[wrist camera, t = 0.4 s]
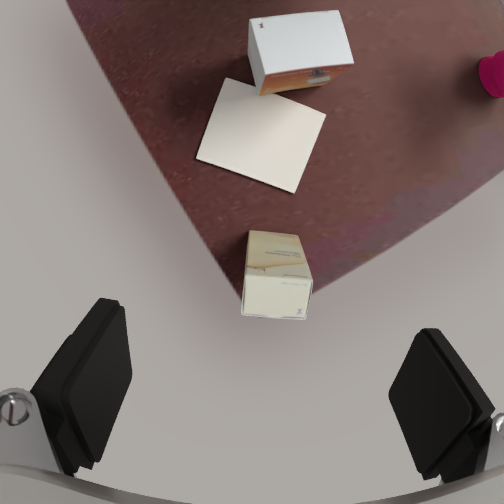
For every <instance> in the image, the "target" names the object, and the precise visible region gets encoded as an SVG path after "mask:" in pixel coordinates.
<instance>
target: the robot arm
mask: <svg viewBox="0 0 504 504" xmlns="http://www.w3.org/2000/svg"><path fill="white" fill-rule="evenodd" d="M131 379H132V367H131V359H130V352H129V345H128V336H127V327H126V319H125V309H124V307H123V306H120V304H119V302H118V301H117V300H111V299H105V298H100V299H98V301H97V302H96V303H95V304H94V306H93V307H92V308H91V310H90V311H89V312H88V314H87V315H86V316H85V318H84V319H83V320H82V322H81V323H80V324H79V325H78V327H77V328H76V330H75V331H74V332H73V334H72V335H69V336H68V338H67V339H66V340H65V341H64V343H63V344H62V345H61V347H60V348H59V350H58V351H57V352H56V354H55V355H54V357H53V358H52V360H51V361H50V362H49V364H48V365H47V367H46V368H45V370H44V371H43V372H42V374H41V376H40V377H39V378H38V380H37V381H36V383H35V384H34V386H33V388H32V389H31V390H30V392H28V391H26V390H24V389H21V388H10V389H6V390H3V391H1V392H0V504H189V503H182V502H176V501H170V500H164V499H159V498H154V497H149V496H144V495H139V494H135V493H130V492H126V491H122V490H118V489H114V488H110V487H107V486H103V485H99V484H96V483H93V482H89V481H85V480H82V479H78V478H77V477H76V475H75V473H76V472H77V471H78V469H79V466H81V467H84V468H88V469H90V470H92V467H93V464H94V462H99V461H100V460H101V458H102V455H103V452H104V449H105V447H106V444H107V441H108V438H109V436H110V433H111V431H112V428H113V425H114V423H115V420H116V418H117V415H118V412H119V410H120V407H121V405H122V402H123V400H124V397H125V395H126V392H127V390H128V387H129V385H130V382H131ZM389 400H390V403H391V405H392V407H393V410H394V412H395V414H396V417H397V420H398V422H399V424H400V427H401V429H402V432H403V434H404V437H405V440H406V442H407V445H408V447H409V450H410V452H411V455H412V458H413V460H414V463H415V466H416V468H417V471H418V472H419V473H421V474H422V476H423V479H424V480H428V479H432V478H436V477H437V476H438V475H439V474H440V475H441V481H440V484H439V486H437V487H433V488H430V489H426V490H422V491H418V492H414V493H410V494H406V495H401V496H397V497H392V498H386V499H381V500H375V501H370V502H363V503H357V504H504V413H499V414H497V415H496V416H495V417H494V418H493V419H492V418H491V417H490V416H491V414H492V413H493V412H494V410H495V407H494V406H493V404H492V403H491V401H490V400H489V398H488V397H487V395H486V394H485V392H484V391H483V389H482V388H481V386H480V385H479V383H478V382H477V380H476V379H475V377H474V376H473V375H472V373H471V372H470V370H469V369H468V368H467V366H466V365H465V363H464V362H463V361H462V359H461V358H460V356H459V355H458V354H457V352H456V351H455V350H454V348H453V347H452V346H451V344H450V343H449V342H448V340H447V339H446V338H445V336H444V335H443V334H442V333H441V331H440V330H439V329H436V328H434V329H433V328H424V329H422V330H421V331H420V332H419V333H417V334H416V336H415V338H414V340H413V342H412V344H411V347H410V349H409V351H408V353H407V355H406V358H405V360H404V362H403V364H402V366H401V368H400V370H399V372H398V374H397V376H396V378H395V380H394V382H393V384H392V386H391V388H390V390H389Z"/></svg>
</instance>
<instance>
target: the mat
mask: <svg viewBox="0 0 504 504" xmlns="http://www.w3.org/2000/svg"><path fill="white" fill-rule="evenodd" d="M325 116H326V115H325V114H323V113H321V112H319V111H316V110H314V109H311V108H309V107H307V106H304V105H302V104H299V103H297V102H294V101H292V100H289V99H287V98H284V97H281V96H279V95H276V94H273V93H271V94H266V95H262V96H258V93H257V89H256V87H254V86H251V85H248V84H245V83H242V82H239V81H236V80H232V79H229V78H225V81H224V83H223V86H222V88H221V91H220V93H219V96H218V99H217V101H216V104H215V107H214V109H213V112H212V115H211V117H210V120H209V123H208V126H207V128H206V131H205V134H204V137H203V140H202V142H201V145H200V148H199V151H198V154H197V157H196V159H199V160H202V161H205V162H208V163H211V164H214V165H217V166H220V167H223V168H226V169H229V170H231V171H234V172H237V173H240V174H243V175H246V176H249V177H251V178H254V179H257V180H260V181H262V182H265V183H268V184H270V185H273V186H276V187H279V188H281V189H284V190H286V191H289V192H292V193H295V191H296V188H297V186H298V184H299V181H300V179H301V176H302V174H303V171H304V169H305V166H306V164H307V161H308V159H309V156H310V154H311V151H312V149H313V146H314V144H315V141H316V139H317V136H318V134H319V131H320V129H321V126H322V124H323V121H324V119H325Z"/></svg>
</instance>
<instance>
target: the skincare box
mask: <svg viewBox="0 0 504 504" xmlns="http://www.w3.org/2000/svg"><path fill="white" fill-rule="evenodd" d="M312 286H313V280H312V276H311V273H310V270H309V267H308V264H307V261H306V258H305V255H304V252H303V249H302V246H301V243H300V240H299V237H298V235H291V234H283V233H273V232H264V231H252V230H250V231H249V235H248V244H247V253H246V263H245V274H244V285H243V296H242V308H241V314H242V315H248V316H257V317H267V318H283V319H302V320H305V319H306V316H307V312H308V307H309V303H310V297H311V293H312Z"/></svg>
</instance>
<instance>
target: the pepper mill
mask: <svg viewBox="0 0 504 504" xmlns="http://www.w3.org/2000/svg"><path fill="white" fill-rule="evenodd" d="M479 77H480V80H481V83H482V85H483V87H484V88H485V90H486V91H487V92H488V93H489V94H490V95H492V96H494V97H498V98H500V97H504V51H499V52H497V53H496V54H495V55H494V56H489V57H485V58H483V59H482V60H481V61H480V64H479Z"/></svg>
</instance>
